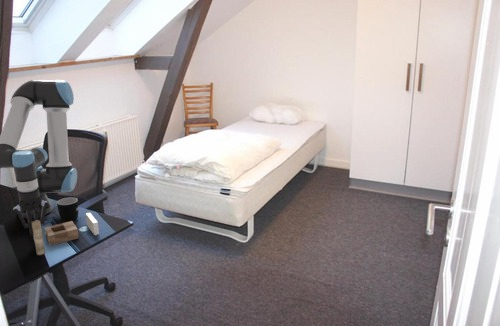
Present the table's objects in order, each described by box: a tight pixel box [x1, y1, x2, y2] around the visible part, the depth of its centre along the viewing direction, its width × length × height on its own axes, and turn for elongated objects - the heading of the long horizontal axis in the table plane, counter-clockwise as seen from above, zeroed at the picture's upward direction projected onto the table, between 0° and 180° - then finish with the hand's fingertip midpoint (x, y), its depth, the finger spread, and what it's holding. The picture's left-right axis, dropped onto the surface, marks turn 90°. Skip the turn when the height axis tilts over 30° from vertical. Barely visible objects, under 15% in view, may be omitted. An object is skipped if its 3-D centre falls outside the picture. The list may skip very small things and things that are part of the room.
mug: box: [56, 196, 79, 223], centre depth 187 cm, size 12×9×10 cm
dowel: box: [32, 219, 46, 256], centre depth 157 cm, size 3×3×14 cm
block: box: [44, 221, 80, 246], centre depth 171 cm, size 9×11×4 cm
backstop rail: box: [85, 212, 100, 236], centre depth 179 cm, size 12×2×6 cm, turn 36°
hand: (36, 240), depth 166 cm, fingers closed
